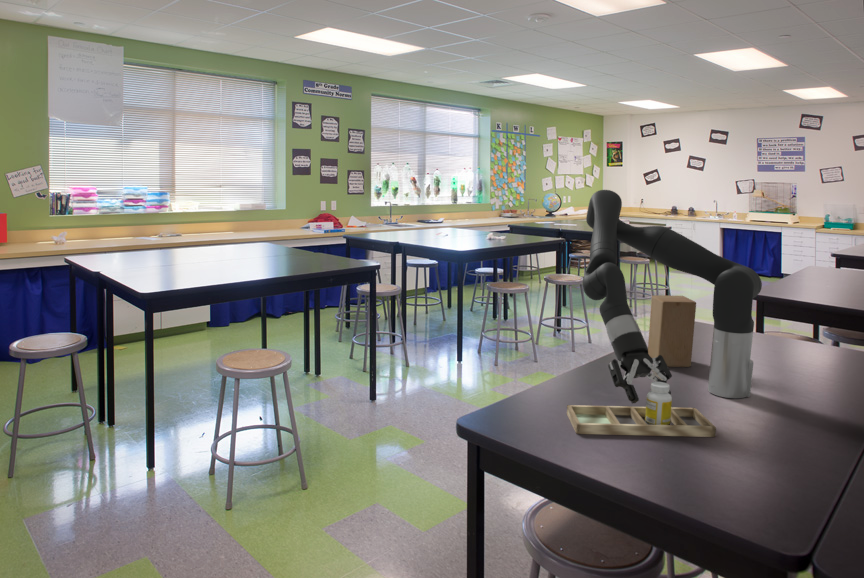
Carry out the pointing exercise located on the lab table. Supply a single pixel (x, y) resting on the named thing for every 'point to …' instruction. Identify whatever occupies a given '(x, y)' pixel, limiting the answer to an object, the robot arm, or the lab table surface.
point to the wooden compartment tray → (637, 421)
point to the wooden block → (672, 329)
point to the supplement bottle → (658, 404)
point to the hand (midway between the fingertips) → (651, 400)
